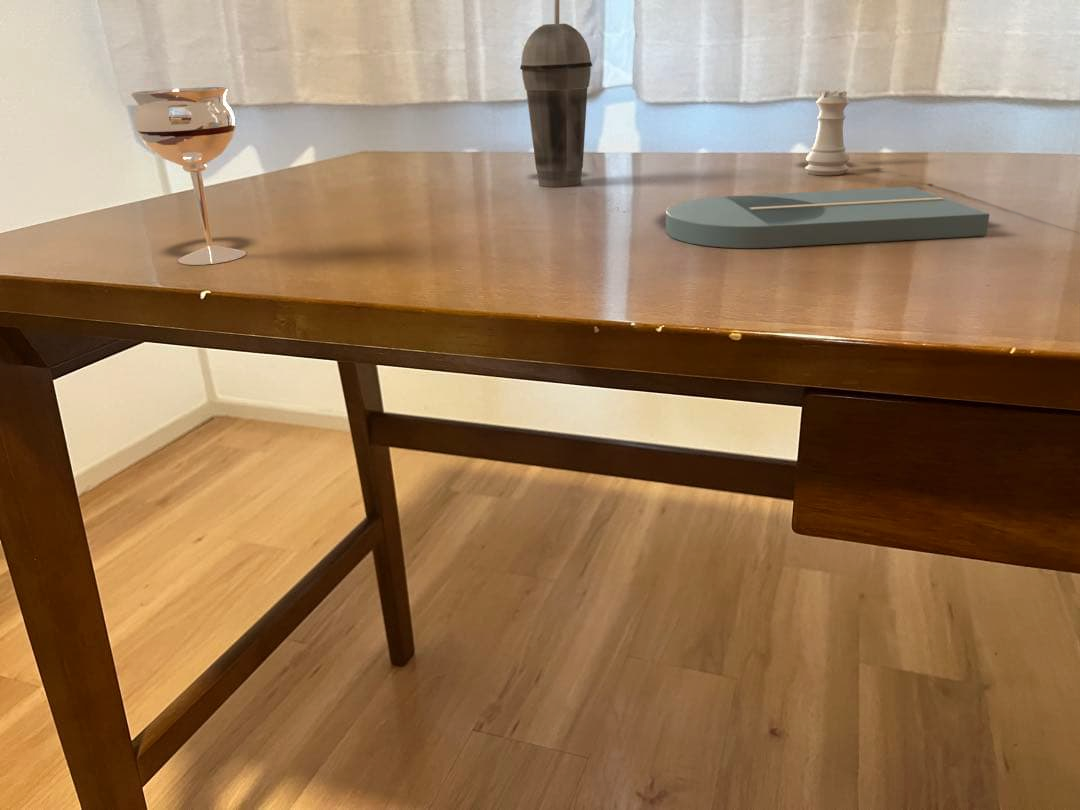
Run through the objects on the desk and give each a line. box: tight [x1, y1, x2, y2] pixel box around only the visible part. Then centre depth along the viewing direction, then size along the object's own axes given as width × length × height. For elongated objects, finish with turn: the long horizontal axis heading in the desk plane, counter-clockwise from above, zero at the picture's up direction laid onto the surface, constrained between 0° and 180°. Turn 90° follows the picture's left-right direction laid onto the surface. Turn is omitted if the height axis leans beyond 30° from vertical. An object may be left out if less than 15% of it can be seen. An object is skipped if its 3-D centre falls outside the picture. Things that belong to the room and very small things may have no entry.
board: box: [665, 186, 990, 249], centre depth 66 cm, size 22×12×2 cm, turn 94°
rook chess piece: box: [804, 90, 850, 176], centre depth 88 cm, size 4×4×8 cm
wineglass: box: [128, 86, 247, 266], centre depth 63 cm, size 7×7×12 cm
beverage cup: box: [519, 0, 593, 188], centre depth 87 cm, size 7×7×20 cm
